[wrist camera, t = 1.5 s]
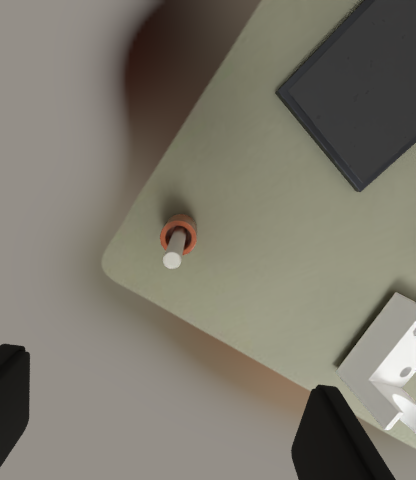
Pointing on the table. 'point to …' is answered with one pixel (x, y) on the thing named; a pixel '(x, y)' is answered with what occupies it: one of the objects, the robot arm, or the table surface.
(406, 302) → the bracket
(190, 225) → the pen holder
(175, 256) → the stylus
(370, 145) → the tablet
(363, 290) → the table surface
